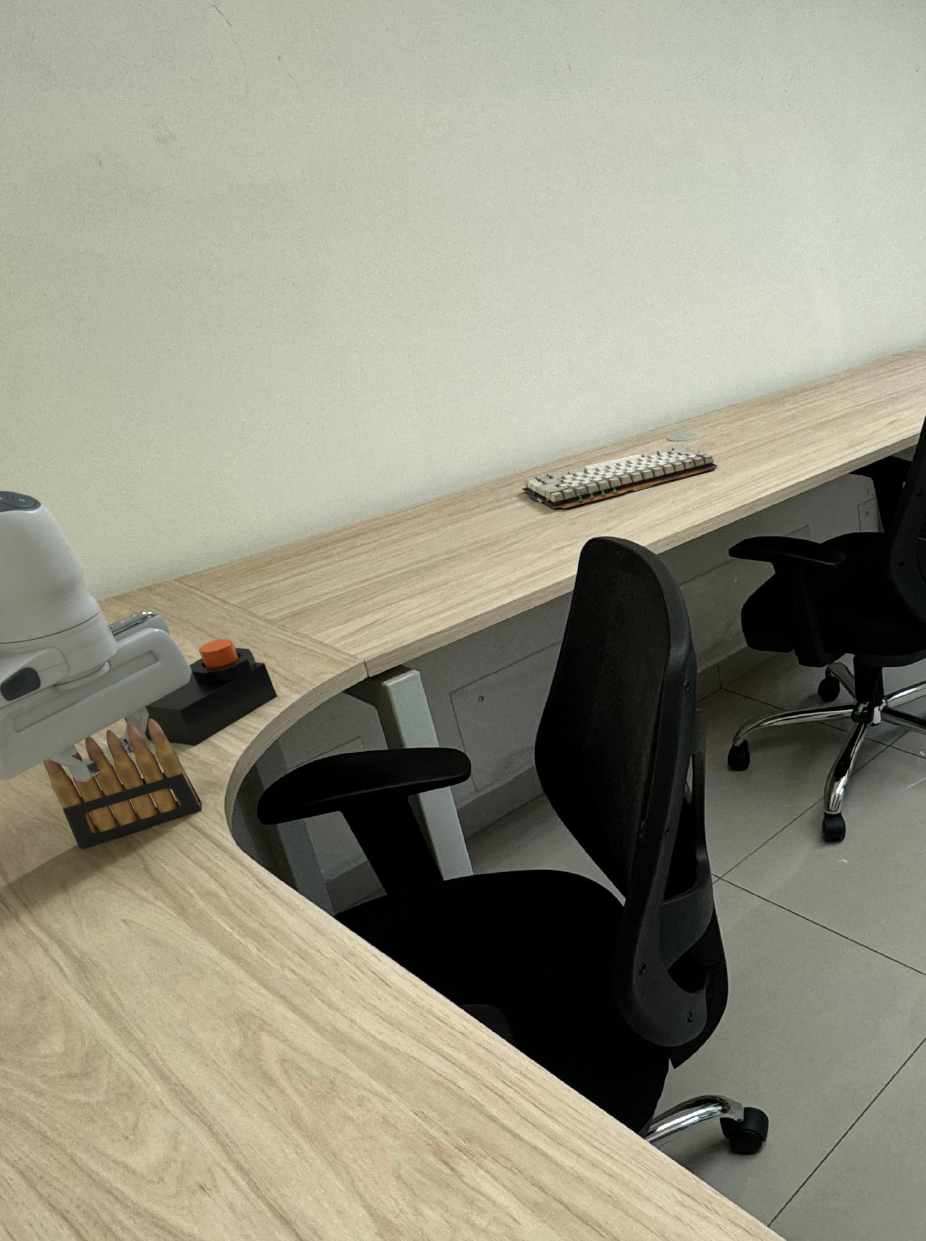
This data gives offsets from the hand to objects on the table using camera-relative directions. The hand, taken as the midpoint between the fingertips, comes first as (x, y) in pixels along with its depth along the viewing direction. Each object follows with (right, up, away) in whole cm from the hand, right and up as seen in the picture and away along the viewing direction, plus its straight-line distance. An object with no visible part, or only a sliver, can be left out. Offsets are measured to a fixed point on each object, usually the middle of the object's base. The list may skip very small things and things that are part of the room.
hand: (113, 763), depth 104 cm
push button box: (-9, +2, +24) cm, 26 cm away
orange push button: (-6, +9, +24) cm, 26 cm away
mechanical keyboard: (+16, +43, +109) cm, 118 cm away
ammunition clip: (0, -8, +4) cm, 8 cm away
